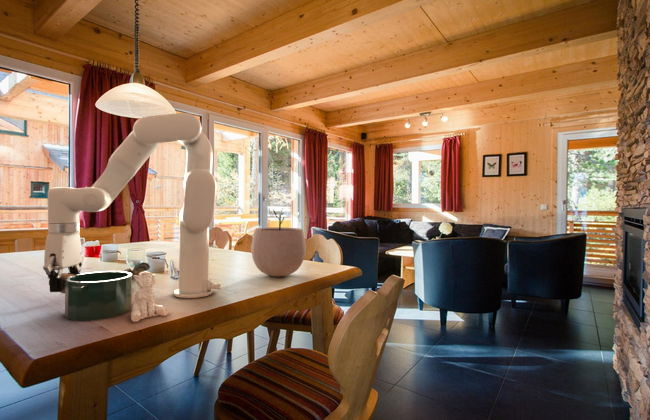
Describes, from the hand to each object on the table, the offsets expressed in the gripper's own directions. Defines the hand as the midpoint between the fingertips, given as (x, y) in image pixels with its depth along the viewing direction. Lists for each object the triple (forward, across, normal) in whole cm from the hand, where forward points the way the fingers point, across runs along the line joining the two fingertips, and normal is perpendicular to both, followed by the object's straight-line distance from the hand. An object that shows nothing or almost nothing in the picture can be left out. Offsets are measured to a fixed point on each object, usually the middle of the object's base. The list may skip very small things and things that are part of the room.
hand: (65, 288), depth 104 cm
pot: (+5, +6, +13) cm, 16 cm away
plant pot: (+7, -47, +60) cm, 77 cm away
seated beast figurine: (+6, +10, +27) cm, 29 cm away
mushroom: (+1, 0, 0) cm, 1 cm away
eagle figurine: (+6, -37, +4) cm, 37 cm away
